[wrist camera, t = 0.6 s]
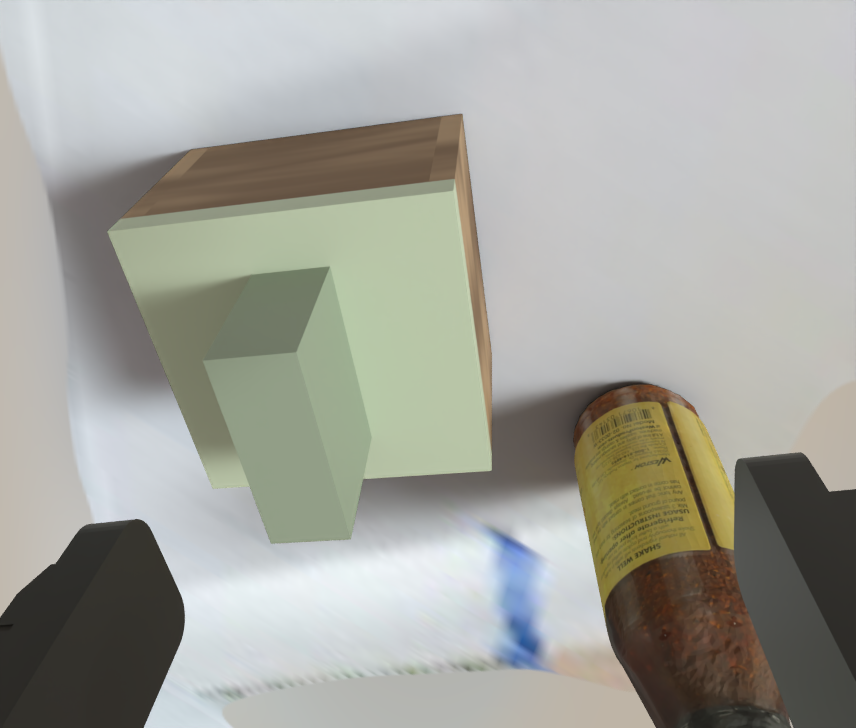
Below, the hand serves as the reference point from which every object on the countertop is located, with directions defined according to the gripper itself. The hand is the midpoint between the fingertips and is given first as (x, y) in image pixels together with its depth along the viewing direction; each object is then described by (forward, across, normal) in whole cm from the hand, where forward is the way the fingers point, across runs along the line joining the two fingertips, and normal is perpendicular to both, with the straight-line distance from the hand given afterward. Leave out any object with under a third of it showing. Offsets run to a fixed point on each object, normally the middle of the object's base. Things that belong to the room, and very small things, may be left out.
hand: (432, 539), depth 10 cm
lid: (+16, +6, +4) cm, 17 cm away
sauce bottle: (+23, -6, +15) cm, 28 cm away
